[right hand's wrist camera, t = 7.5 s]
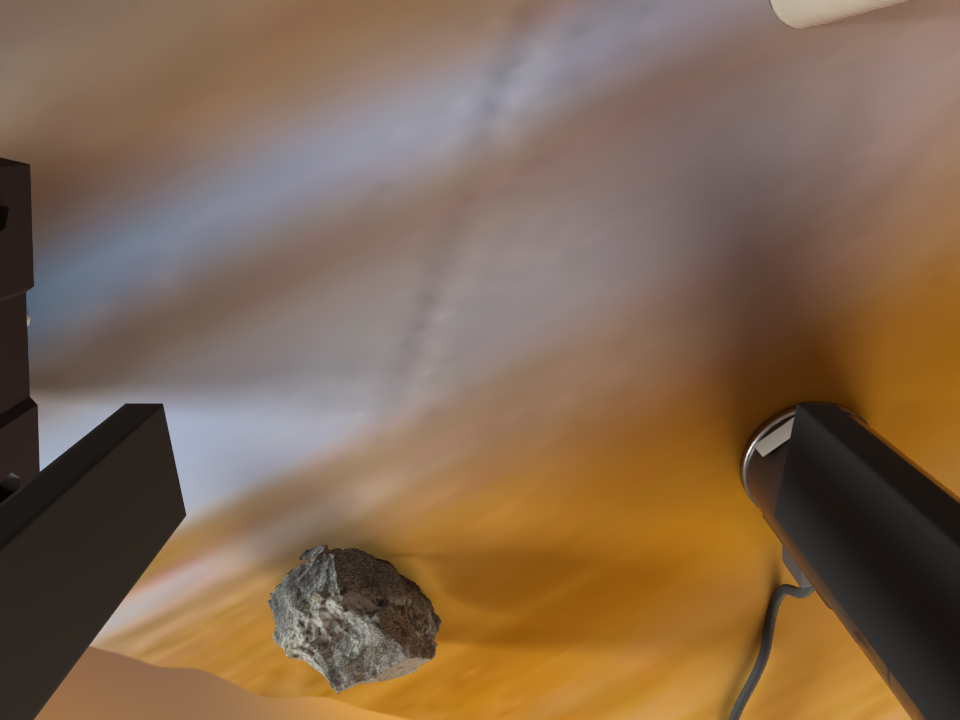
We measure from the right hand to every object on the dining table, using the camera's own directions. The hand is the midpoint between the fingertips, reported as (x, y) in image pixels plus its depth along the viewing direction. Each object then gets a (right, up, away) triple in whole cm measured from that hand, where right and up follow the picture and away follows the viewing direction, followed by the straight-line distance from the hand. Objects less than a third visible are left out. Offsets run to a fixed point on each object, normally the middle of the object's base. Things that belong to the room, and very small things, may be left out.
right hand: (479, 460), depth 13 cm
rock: (-9, -16, +36) cm, 40 cm away
